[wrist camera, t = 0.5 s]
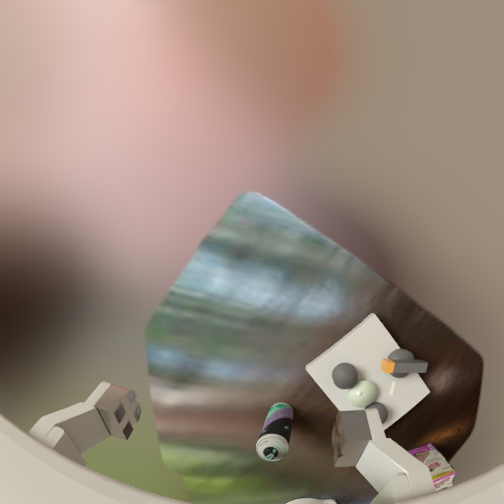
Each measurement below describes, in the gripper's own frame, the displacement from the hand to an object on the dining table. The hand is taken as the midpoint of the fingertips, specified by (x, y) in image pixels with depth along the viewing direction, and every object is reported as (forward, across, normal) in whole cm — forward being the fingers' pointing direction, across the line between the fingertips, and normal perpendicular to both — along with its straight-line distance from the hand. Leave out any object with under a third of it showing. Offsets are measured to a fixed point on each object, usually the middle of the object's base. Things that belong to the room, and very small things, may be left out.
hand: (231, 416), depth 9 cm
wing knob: (+38, +27, -27) cm, 54 cm away
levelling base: (+39, +22, -32) cm, 55 cm away
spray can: (+37, +3, -41) cm, 55 cm away
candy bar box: (+28, +37, -52) cm, 70 cm away
